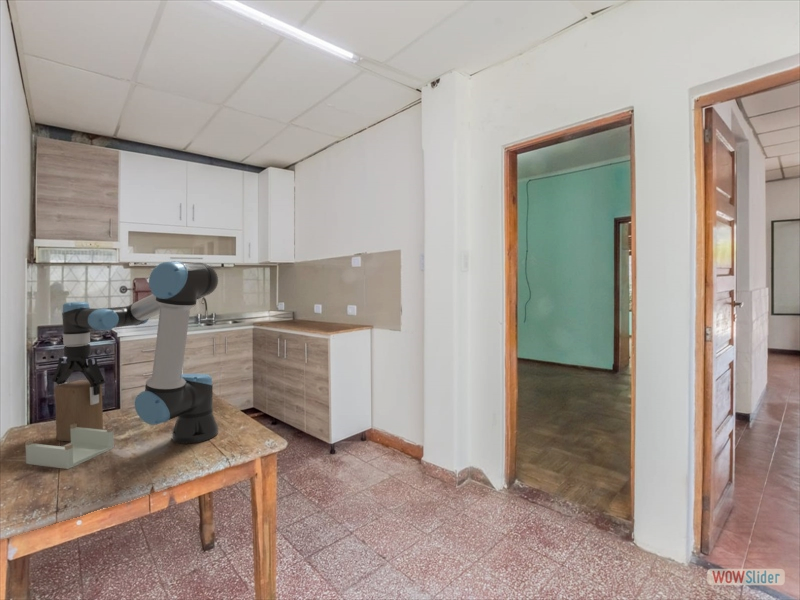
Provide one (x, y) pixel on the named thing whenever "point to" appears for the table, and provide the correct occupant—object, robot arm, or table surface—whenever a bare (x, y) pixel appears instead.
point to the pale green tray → (71, 448)
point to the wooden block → (76, 408)
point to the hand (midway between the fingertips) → (79, 402)
